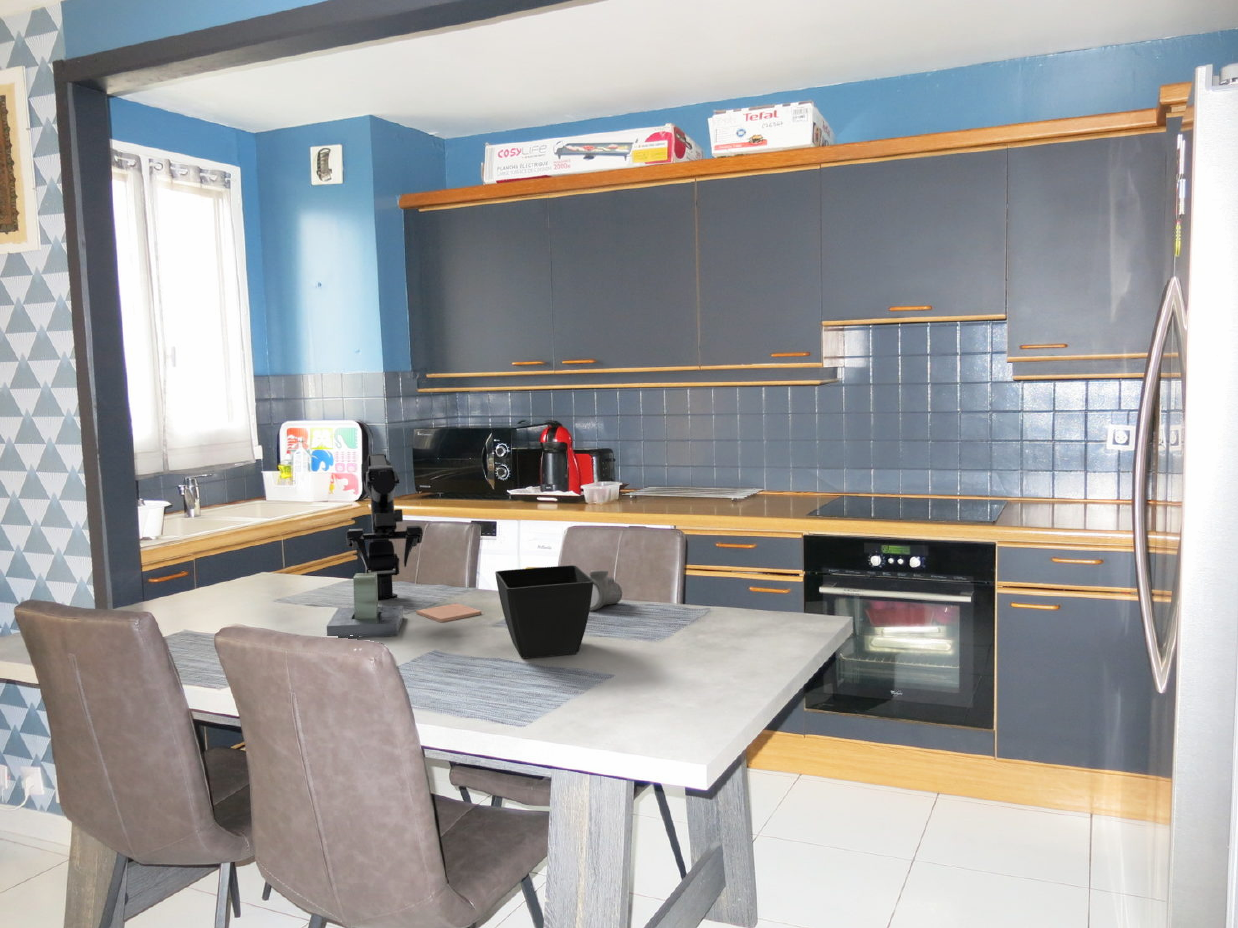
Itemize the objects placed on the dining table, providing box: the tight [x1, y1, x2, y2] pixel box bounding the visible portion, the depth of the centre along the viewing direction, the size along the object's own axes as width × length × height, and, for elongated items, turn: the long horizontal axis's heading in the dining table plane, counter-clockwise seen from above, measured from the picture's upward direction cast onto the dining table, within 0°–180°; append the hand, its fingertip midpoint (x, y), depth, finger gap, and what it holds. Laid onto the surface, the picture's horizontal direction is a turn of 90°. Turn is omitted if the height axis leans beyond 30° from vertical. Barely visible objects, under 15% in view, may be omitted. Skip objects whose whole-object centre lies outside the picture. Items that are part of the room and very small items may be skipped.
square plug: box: [352, 572, 379, 619], centre depth 237 cm, size 5×5×13 cm
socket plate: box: [326, 605, 404, 639], centre depth 237 cm, size 18×16×3 cm
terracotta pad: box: [415, 603, 482, 623], centre depth 250 cm, size 12×12×1 cm
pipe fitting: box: [588, 569, 623, 612], centre depth 257 cm, size 12×8×10 cm, turn 142°
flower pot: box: [495, 564, 593, 659], centre depth 216 cm, size 19×19×17 cm
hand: (386, 567), depth 245 cm, fingers open, 9 cm apart
